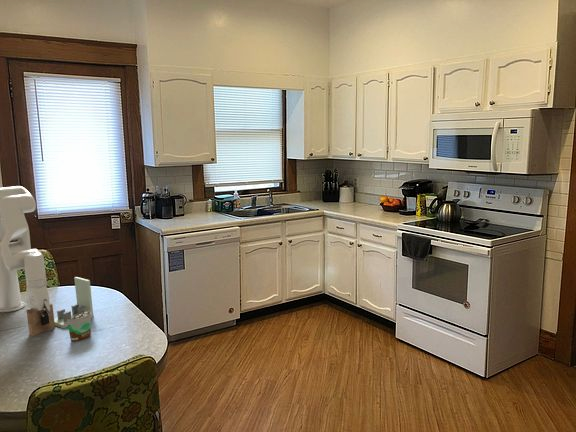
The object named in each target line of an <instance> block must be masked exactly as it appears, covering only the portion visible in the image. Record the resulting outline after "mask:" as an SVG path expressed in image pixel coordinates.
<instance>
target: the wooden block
mask: <svg viewBox="0 0 576 432" xmlns="http://www.w3.org/2000/svg"><path fill="white" fill-rule="evenodd" d="M53 306H54V305H53V303H50V309H51V310H50V312H49V324H46V325H44V326H42V325H41V313H40V311H37V310H34V309H31V308H28V309H26V317H27V318H26V319H27V326H28V327H27V328H28V335H29V336H31V337H35V336H38V335H40V334H42V333H45V332H48V331H50V330H53V329H55V328H56V325H55V322H54V319H55V315H54V307H53ZM44 308H45V307H43V309H44ZM44 311H45V310H43V313H44Z"/></svg>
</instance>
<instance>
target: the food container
mask: <svg viewBox="0 0 576 432" xmlns="http://www.w3.org/2000/svg"><path fill="white" fill-rule="evenodd" d="M92 318H93V317H92V315H91V312H90V311H89V310H87V309H84V311H83V312H82V313H80V314H78V315H76V316H75V317H73V318H72V319H70V320H68V319H67V325H68V327H67V328H68V332H69V333H68V334H69V339H70V342H71V343H75V342H81V341H85V340H87V339H89V338H90V337H91V335H92V334H91V319H92Z"/></svg>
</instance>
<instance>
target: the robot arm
mask: <svg viewBox="0 0 576 432" xmlns="http://www.w3.org/2000/svg"><path fill="white" fill-rule="evenodd" d="M36 207H37V205H36V200H35V198H34V196H33V195H32V194H31V193H30V192H29V191H28V190H27V188H25V187H23V186H21V185H16V186H15V185H14V186H6V187H5V186H4V187H0V313H10V312H15V311H18V310H21V309H23V308H25V306H26V303H27V307H28V309H34V310H37V311H40V313H41V325H42V326H44V325H46V324H49V312H50V310H51V309H50V296H49V291H48V288H47V283H48V282H47V275H46V267H45V266H46V265H45V258H44V254H42V252H41V251H40V250H39V249H37V248H32V247H31V246H32V245H31V236H30V229H29V228H30V227H29V224H28V222H27V219H26V216H25V214H27V213H32V212H34V211H35V210H36V209H37V208H36ZM11 241H13V242H11ZM18 270H24V275H25V281H26V282H25V283H26V289H25V290H26V291H25V292H26V294H25V295H26V303H25V301H22V300H21V299H22V298H21V290H20V283H19V275H18ZM43 307H45V308H44V309H43ZM43 310H45V311H44V313H43Z"/></svg>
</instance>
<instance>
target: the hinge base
mask: <svg viewBox="0 0 576 432" xmlns="http://www.w3.org/2000/svg"><path fill="white" fill-rule="evenodd" d="M73 279H74V287H75V289H74V290H75V296H76V304H73V305H71V310H68V311H66V309H65V308H62V309H59V310H56V313H57V317H54V322H55V327H59V328H61V329H66V328H68V325H67V319H68V320H70V319H72V318H73V317H75V316H76V315H78V314H80V313H82V312H83V311H84V309H87V310H89V311H90V312H91V315H92V318H95V316H94V309H93V299H92V288H91V280H90V279H86V278H82V277H78V276H75V277H74V278H73Z"/></svg>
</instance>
